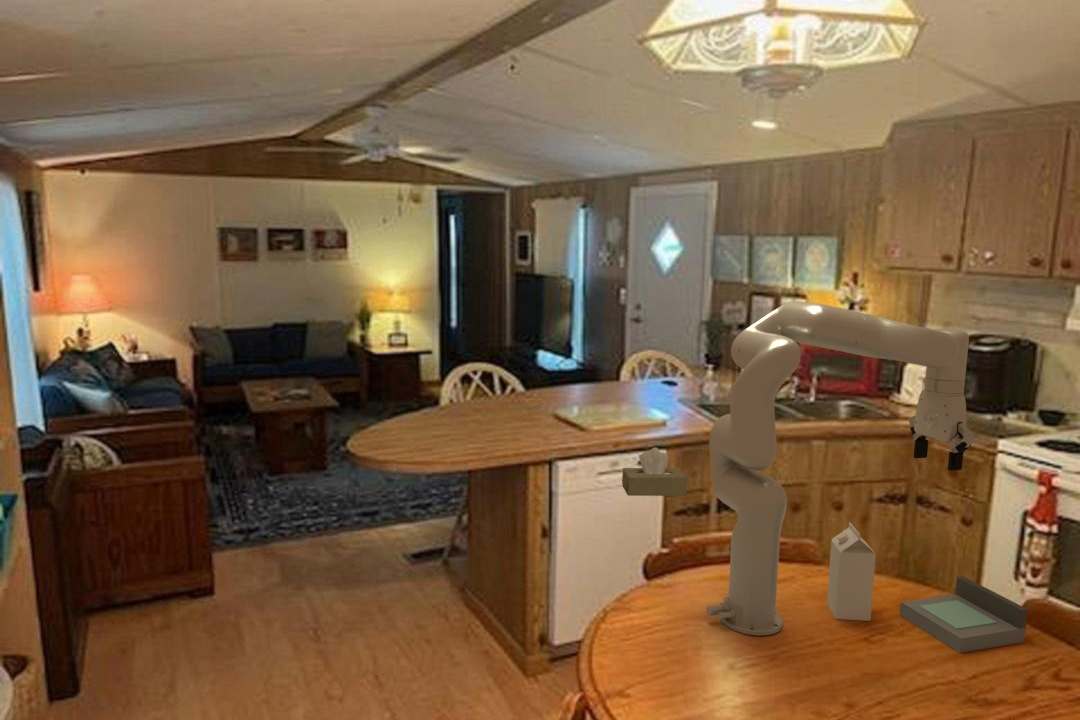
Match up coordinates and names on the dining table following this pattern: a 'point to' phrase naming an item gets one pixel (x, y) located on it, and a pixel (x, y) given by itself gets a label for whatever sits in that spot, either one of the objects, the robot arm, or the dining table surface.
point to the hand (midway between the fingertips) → (936, 463)
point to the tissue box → (654, 477)
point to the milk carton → (851, 576)
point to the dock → (968, 617)
